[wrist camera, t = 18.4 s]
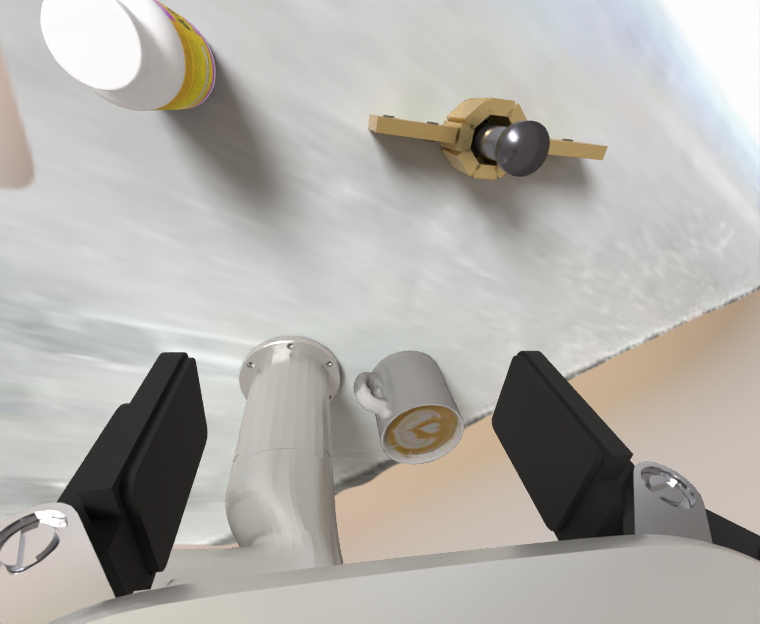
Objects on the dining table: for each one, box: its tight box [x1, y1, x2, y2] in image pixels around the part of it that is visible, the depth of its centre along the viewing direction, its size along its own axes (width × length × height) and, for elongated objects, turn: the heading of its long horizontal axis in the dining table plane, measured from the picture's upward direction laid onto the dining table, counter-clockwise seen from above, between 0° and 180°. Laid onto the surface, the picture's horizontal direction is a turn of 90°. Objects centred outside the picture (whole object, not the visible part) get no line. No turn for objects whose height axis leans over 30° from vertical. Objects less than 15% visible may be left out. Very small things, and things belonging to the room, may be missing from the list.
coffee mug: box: [354, 351, 464, 464], centre depth 46 cm, size 13×10×10 cm
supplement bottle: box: [41, 0, 216, 111], centre depth 25 cm, size 7×7×13 cm
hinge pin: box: [470, 120, 550, 177], centre depth 32 cm, size 4×4×11 cm
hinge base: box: [440, 98, 608, 180], centre depth 35 cm, size 6×14×5 cm, turn 84°
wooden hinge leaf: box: [368, 115, 458, 143], centre depth 33 cm, size 7×2×5 cm, turn 83°
